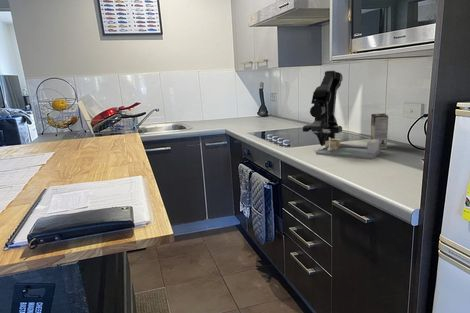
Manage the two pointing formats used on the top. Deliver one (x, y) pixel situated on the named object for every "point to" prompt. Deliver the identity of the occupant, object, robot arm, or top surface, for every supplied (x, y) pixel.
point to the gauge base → (355, 150)
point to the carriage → (332, 144)
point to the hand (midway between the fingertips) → (322, 145)
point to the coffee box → (379, 129)
